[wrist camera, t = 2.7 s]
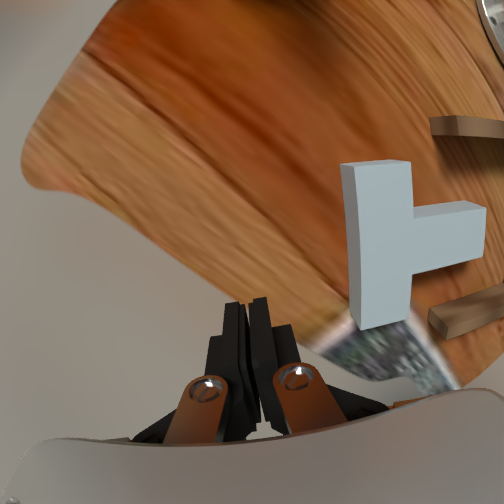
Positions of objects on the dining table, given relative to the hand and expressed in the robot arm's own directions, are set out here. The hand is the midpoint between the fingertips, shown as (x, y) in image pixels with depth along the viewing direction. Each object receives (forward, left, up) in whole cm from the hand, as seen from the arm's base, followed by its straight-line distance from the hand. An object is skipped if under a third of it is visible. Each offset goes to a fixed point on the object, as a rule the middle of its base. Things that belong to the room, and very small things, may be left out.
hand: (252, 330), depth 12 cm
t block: (-11, 0, -7) cm, 13 cm away
